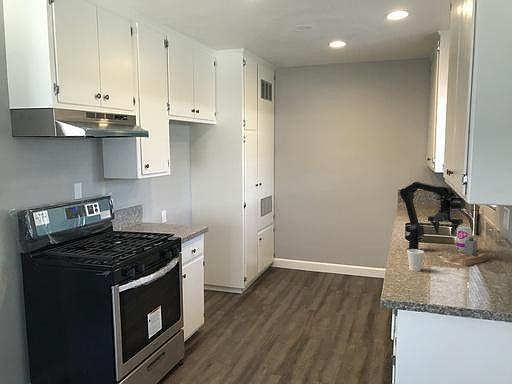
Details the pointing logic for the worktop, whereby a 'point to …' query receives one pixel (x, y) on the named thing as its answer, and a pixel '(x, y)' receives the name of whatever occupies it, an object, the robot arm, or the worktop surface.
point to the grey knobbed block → (471, 247)
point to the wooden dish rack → (466, 259)
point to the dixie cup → (415, 259)
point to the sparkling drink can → (462, 237)
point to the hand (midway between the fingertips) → (444, 234)
